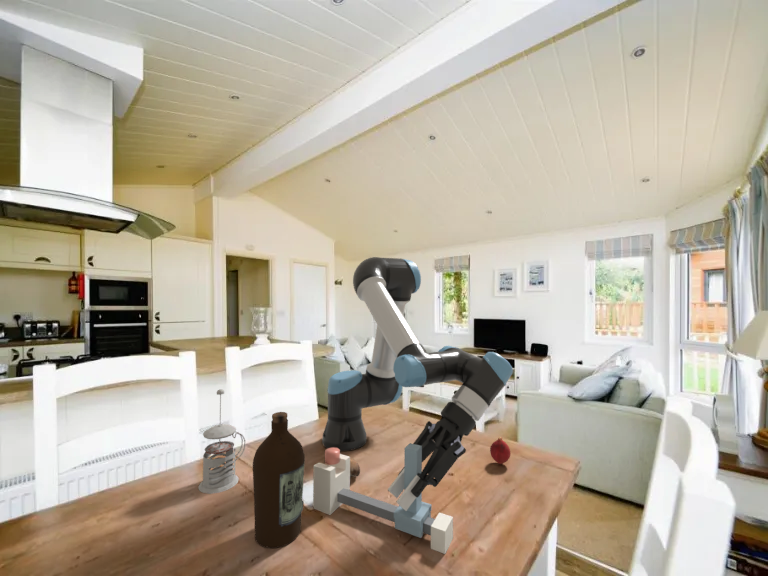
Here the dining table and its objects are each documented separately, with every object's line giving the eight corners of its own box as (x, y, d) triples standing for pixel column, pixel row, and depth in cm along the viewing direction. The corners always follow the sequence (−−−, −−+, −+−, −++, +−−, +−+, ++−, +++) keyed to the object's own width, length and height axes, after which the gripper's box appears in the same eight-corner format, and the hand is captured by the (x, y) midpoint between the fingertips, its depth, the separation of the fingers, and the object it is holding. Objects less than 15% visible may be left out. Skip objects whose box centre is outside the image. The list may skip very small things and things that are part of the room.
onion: (511, 470, 99) (511, 442, 99) (491, 467, 100) (491, 440, 100) (508, 460, 105) (508, 434, 105) (489, 458, 106) (489, 432, 106)
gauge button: (321, 462, 83) (321, 452, 83) (331, 456, 86) (331, 446, 86) (333, 466, 81) (333, 455, 81) (342, 459, 84) (342, 449, 84)
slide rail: (313, 508, 81) (313, 465, 81) (333, 491, 88) (334, 452, 88) (442, 559, 65) (442, 506, 66) (455, 533, 72) (455, 486, 73)
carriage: (393, 529, 71) (394, 449, 72) (406, 512, 77) (406, 438, 77) (420, 539, 68) (420, 456, 69) (431, 521, 74) (431, 444, 74)
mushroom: (332, 477, 88) (341, 452, 92) (323, 476, 95) (332, 452, 98) (359, 488, 90) (367, 463, 93) (348, 486, 96) (356, 463, 100)
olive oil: (240, 539, 70) (242, 417, 71) (278, 510, 80) (280, 403, 80) (277, 558, 65) (279, 427, 66) (314, 525, 75) (315, 411, 75)
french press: (192, 483, 91) (194, 389, 92) (235, 467, 100) (237, 381, 100) (206, 498, 84) (208, 397, 85) (251, 480, 93) (252, 388, 93)
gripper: (497, 435, 71) (427, 536, 64) (452, 409, 87) (392, 488, 80) (476, 413, 69) (401, 514, 63) (434, 390, 85) (371, 470, 78)
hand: (396, 499), depth 71 cm, fingers closed on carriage, 4 cm apart
